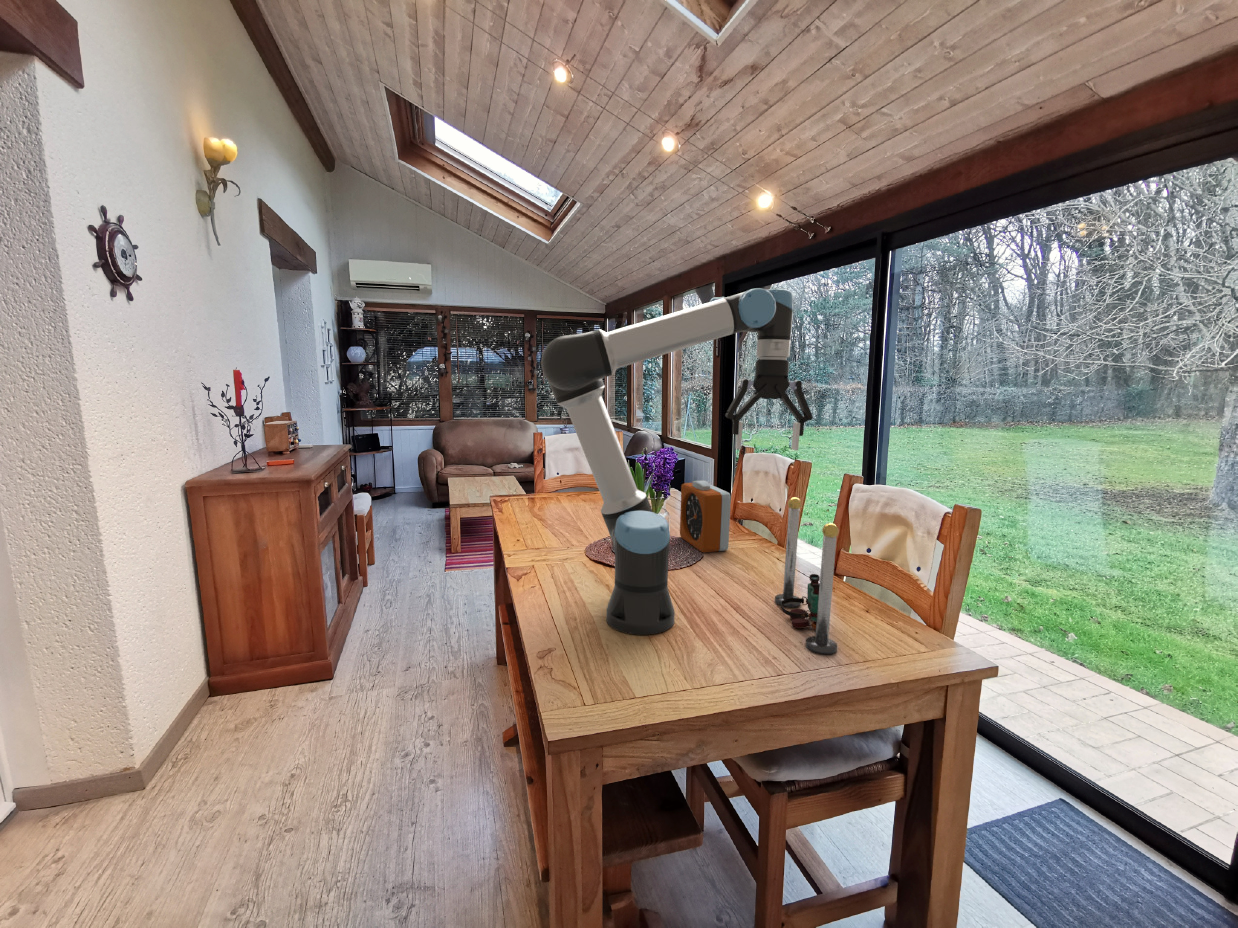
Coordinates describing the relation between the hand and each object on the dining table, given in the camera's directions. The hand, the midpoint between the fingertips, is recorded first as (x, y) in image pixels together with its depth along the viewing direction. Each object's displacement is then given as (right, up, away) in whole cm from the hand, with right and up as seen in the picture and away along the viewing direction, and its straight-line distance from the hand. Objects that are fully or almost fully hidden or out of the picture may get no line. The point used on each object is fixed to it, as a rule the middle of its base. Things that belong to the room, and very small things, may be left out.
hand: (766, 449), depth 135 cm
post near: (+5, -41, -21) cm, 46 cm away
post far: (+5, -37, 0) cm, 37 cm away
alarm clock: (-9, -29, +45) cm, 54 cm away
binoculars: (+5, -39, -10) cm, 41 cm away
